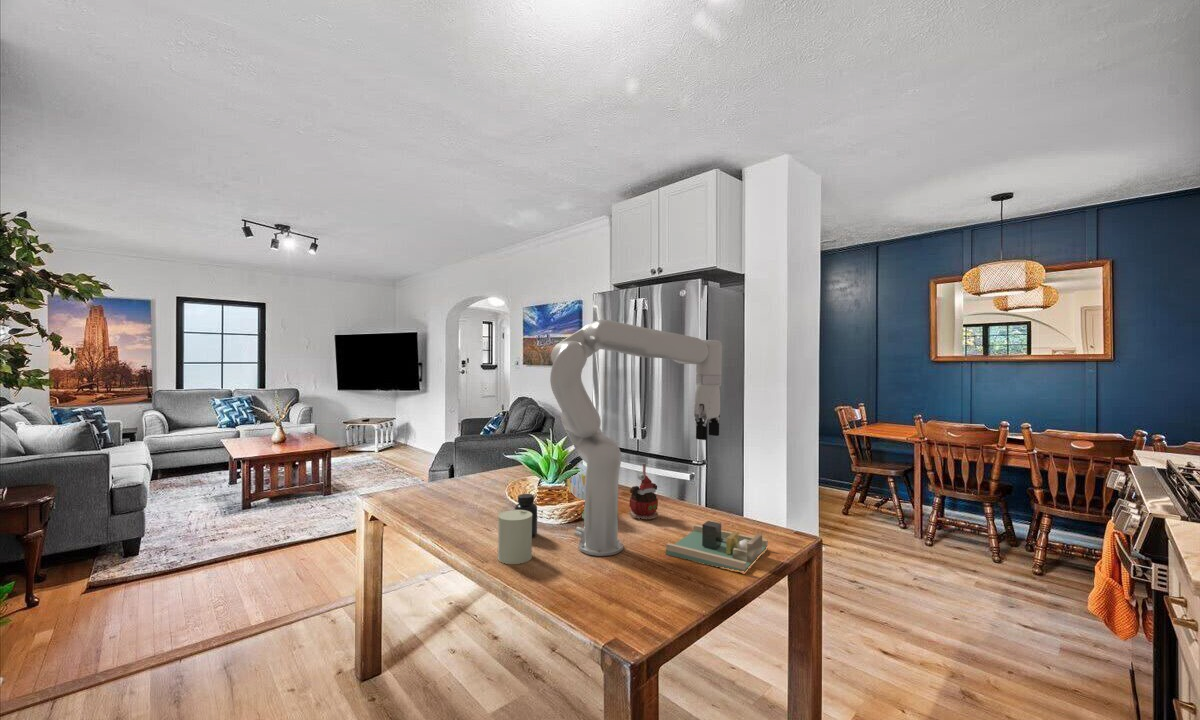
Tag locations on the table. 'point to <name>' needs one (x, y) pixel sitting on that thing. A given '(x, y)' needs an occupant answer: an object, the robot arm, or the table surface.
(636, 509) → the santa hat candy apple
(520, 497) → the supplement bottle
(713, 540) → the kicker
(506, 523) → the can
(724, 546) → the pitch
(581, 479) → the snack box
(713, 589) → the table surface
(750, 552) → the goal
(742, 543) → the ball
